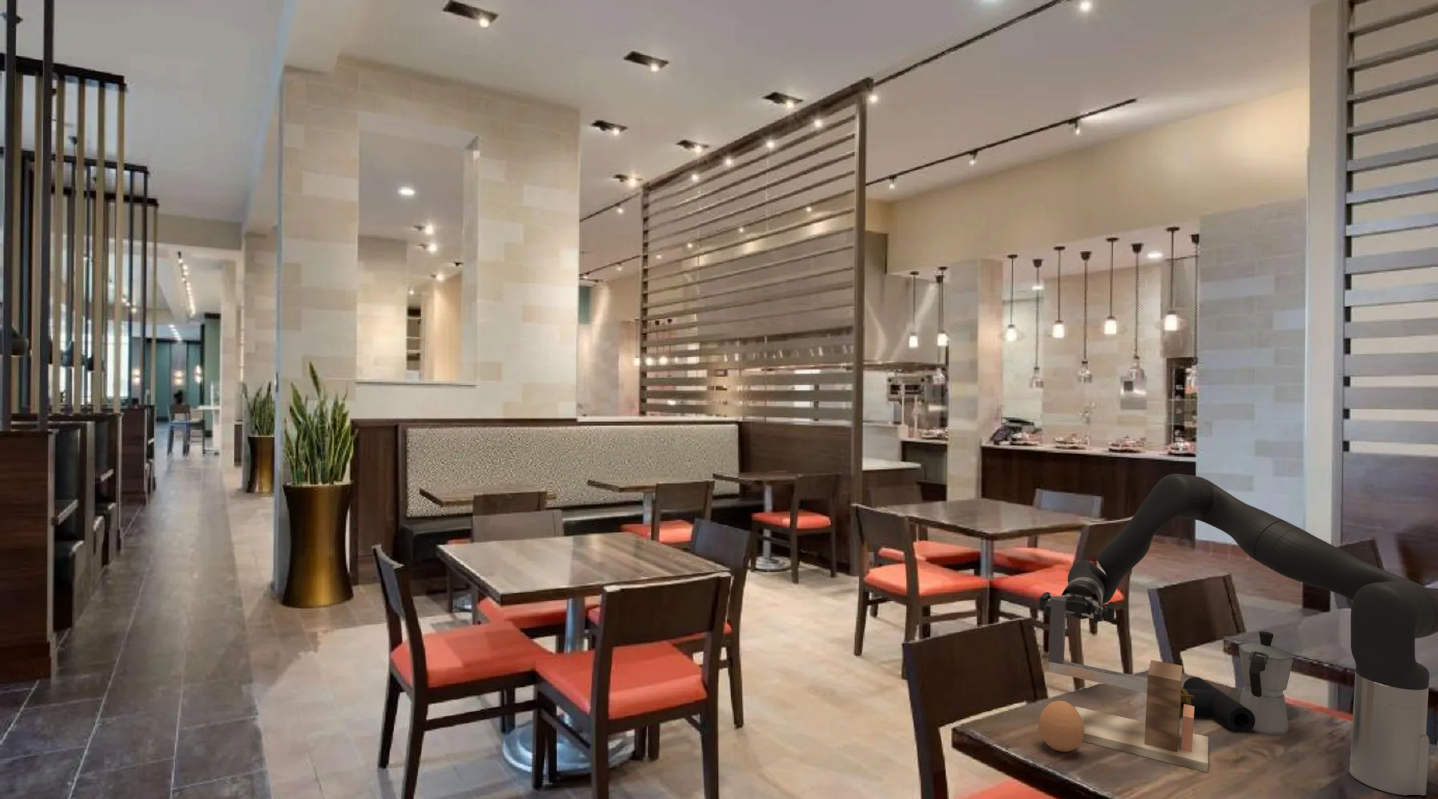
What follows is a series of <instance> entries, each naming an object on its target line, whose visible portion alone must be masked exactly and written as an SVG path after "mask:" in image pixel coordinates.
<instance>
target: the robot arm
mask: <svg viewBox="0 0 1438 799" xmlns="http://www.w3.org/2000/svg"><path fill="white" fill-rule="evenodd" d="M1139 506H1140V507H1139V508H1138V509H1137V511H1136V512H1135V514H1134V515H1133V516H1132V518H1131V519H1130V521H1128V522H1127V524H1126V525H1125V527H1124V528H1122V529H1121V531H1120V532H1119V533H1118V534H1117V535H1116V536H1115V537H1114V538H1113V539H1111V540H1110V542H1109V543H1108V544H1107V545H1105V546H1104V547H1103V548H1102V549H1101V550H1100V551H1099V553H1098V554H1097V556H1096V559H1097V563H1098V564H1099V566H1100V567H1098V566H1097V565H1095V563H1093V562H1092V561H1090V560H1087V559H1086V560H1085V559H1084V560H1083V559H1081V560H1079V561H1077V562H1076V563H1074V564H1073V565H1072V566H1071V567H1070V570H1069V571H1068V574H1067V583H1068V584H1067V585H1066V587H1065V588H1064V589H1063V591H1062V593H1061V595H1056V597H1062V598H1067V607H1066V614H1068V615H1069V616H1072V617H1073V618H1076V619H1080V620H1087V619H1093V624H1099V622H1103V621H1105V620H1104V619H1107V620H1106V621H1109V622H1114V621H1115V615H1116V614H1115V613H1116V612H1115V608H1116V606H1115V605H1116V602H1114V601H1111V600H1112V599H1113V597H1114V596H1115V593H1116V591H1117V590H1118V588H1119V587H1118V586H1119V585H1120V583H1121V582H1122V580H1123V578H1124V577H1125V576H1126V575H1127V574H1128V572H1130V571H1131V570H1132V569H1133V568H1134V567H1136V565H1137V564H1139V563H1140V562H1141V561H1142V560H1143V558H1145V556H1146V555H1147V553H1148V551H1149V550H1150V548H1151V545H1152V541H1153V538H1154V536H1155V535H1156V533H1157V532H1158V531H1159V530H1160V529H1161V528H1162V527H1163V526H1164V525H1166V524H1167V523H1169V522H1170V521H1172V520H1174V519H1176V518H1177V519H1187V520H1188V519H1189V520H1194V521H1199V522H1202V523H1204V524H1206V525H1207V524H1208V525H1209V526H1211V527H1214V528H1216V529H1217V530H1220V531H1222V532H1223V533H1225V534H1227V535H1228V536H1229V537H1231V538H1232V539H1233V541H1235V543H1236V544H1237V546H1239V547H1240V549H1241V550H1242V551H1243V552H1244V553H1245V554H1247V555H1248V556H1249V557H1250V558H1251V559H1253V560H1254V561H1256V562H1258V563H1260V564H1262V565H1263V566H1265V567H1267V568H1268V569H1270V570H1272V571H1274V572H1276V573H1278V574H1280V575H1282V576H1284V577H1286V578H1288V579H1292V580H1294V581H1296V582H1299V583H1303V584H1305V585H1309V586H1313V587H1315V588H1318V589H1319V588H1320V589H1321V590H1322V589H1323V590H1325V591H1329V592H1332V593H1335V594H1338V595H1340V596H1343V597H1344V598H1346V599H1349V600H1350V601H1352V602H1351V608H1350V650H1351V651H1350V652H1351V655H1352V657H1353V660H1354V662H1355V672H1354V673H1355V675H1354V690H1353V692H1354V693H1353V706H1352V708H1353V709H1352V710H1353V711H1352V727H1351V740H1350V741H1351V743H1350V758H1349V773H1350V775H1351V776H1352V777H1353V778H1354V779H1356V780H1357V781H1358V782H1360V783H1362V784H1364V785H1365V786H1369V787H1371V788H1374V789H1377V790H1380V791H1383V792H1386V793H1390V794H1395V795H1400V796H1407V795H1426V796H1427V785H1428V784H1427V782H1428V771H1429V770H1428V767H1429V766H1428V765H1429V752H1430V738H1429V736H1428V735H1427V719H1428V702H1429V686H1430V672H1429V669H1428V668H1427V667H1426V666H1424V665H1423V664H1422V663H1419V662H1417V660H1416V639H1422V638H1426V637H1429V636H1432V635H1434V634H1437V633H1438V596H1437V595H1436V594H1435V593H1434V592H1432V590H1430V589H1429V588H1427V587H1426V586H1424V585H1422V584H1420V583H1418V582H1415V581H1413V580H1411V579H1409V578H1406V577H1403V576H1401V575H1398V574H1395V573H1392V572H1390V571H1388V570H1385V569H1382V568H1379V567H1378V566H1375V565H1373V564H1370V563H1367V562H1366V561H1363V560H1362V559H1359V558H1357V557H1355V556H1354V555H1352V554H1350V553H1348V552H1346V551H1345V550H1343V549H1340V548H1338V547H1337V546H1335V545H1333V544H1331V543H1329V542H1327V541H1325V540H1323V539H1321V538H1319V537H1317V536H1315V535H1314V534H1311V533H1310V532H1308V531H1306V530H1305V529H1303V528H1301V527H1298V526H1297V525H1295V524H1293V523H1291V522H1288V521H1286V520H1284V519H1282V518H1280V517H1279V516H1278V517H1277V516H1275V515H1273V514H1272V513H1269V512H1266V511H1264V510H1262V509H1260V508H1257V507H1255V506H1253V505H1250V504H1248V503H1246V502H1244V501H1242V500H1240V499H1238V498H1237V497H1235V496H1234V495H1232V494H1231V493H1229V492H1228V491H1226V490H1224V489H1223V488H1221V487H1220V486H1218V485H1216V484H1215V483H1214V482H1212V481H1210V480H1208V479H1207V478H1204V477H1201V476H1198V475H1197V476H1196V475H1190V474H1182V473H1171V474H1168V475H1165V476H1164V477H1162V478H1161V479H1160V480H1159V481H1158V482H1157V483H1156V484H1155V486H1154V487H1153V488H1152V489H1151V491H1150V492H1149V493H1148V495H1147V496H1146V497H1145V499H1144V501H1143V502H1142V504H1141V505H1139ZM1100 568H1101V569H1100ZM1052 597H1053V596H1052V594H1051V592H1048V591H1045V592H1044V593H1042V594H1041V595H1040V596H1039V598H1038V610H1041V611H1044V613H1046V614H1047V616H1050V615H1051V599H1052Z"/></svg>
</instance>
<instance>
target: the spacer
mask: <svg viewBox="0 0 1438 799" xmlns="http://www.w3.org/2000/svg"><path fill="white" fill-rule="evenodd" d="M1194 718H1195V716H1194V706H1190V705H1186V704H1184V709H1183V716H1182V724H1181V725H1182V727H1181V731H1182V742H1181V750H1183V751H1188V752H1192V742H1193V733H1194V721H1195V720H1194Z"/></svg>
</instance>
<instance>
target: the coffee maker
mask: <svg viewBox="0 0 1438 799" xmlns="http://www.w3.org/2000/svg"><path fill="white" fill-rule="evenodd" d="M1258 634H1259V641H1260V642H1259V643H1256V642H1255V643H1252V642H1250V643H1243V644H1238V652H1239V662H1240V671H1241V672H1240V673H1241V674H1240V675H1241V679H1242V680H1243V682H1244V685H1243V687H1242V690H1241V693H1240V697H1239V702H1238V703H1240V704H1241V705H1243V706H1244V707H1246V708H1247V709H1249V710H1250V711H1251V712H1252V713H1253V714H1254V716H1255V725H1254V727H1253V729H1252V730H1251V731H1253V732H1257V733H1261V734H1264V735H1271V736H1286V735H1287V733H1288V732H1289V731H1290V730H1289V729H1290V728H1289V721H1288V720H1289V719H1288V715H1287V714H1288V712H1287V705H1286V698H1285V697H1286V696H1285V694H1284V691H1286V690H1287V688H1288V683H1289V680H1290V674H1291V671H1292V667H1293V666H1292V665H1293V662H1294V657H1293V655H1292V654H1291V653H1290V652H1289V651H1287V650H1285V649H1282V648H1278V647H1276V646H1274V645H1272V642H1273V638H1274V633H1272V632H1269V631H1264V630H1262V631H1258Z"/></svg>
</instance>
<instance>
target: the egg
mask: <svg viewBox="0 0 1438 799" xmlns="http://www.w3.org/2000/svg"><path fill="white" fill-rule="evenodd" d="M1038 730H1039V733H1040V736H1041V738H1042V740H1043V741H1044V742H1045V743H1046V745H1047V746H1049V747H1050V748H1051V749H1053V750H1055V751H1058V752H1064V753H1067V752H1071V751H1073V750H1075V749H1077V748H1078V747H1079V746H1080V745H1081V744H1082V742H1083V741H1082V740H1083V737H1084V725H1083V721H1082V719H1081V716H1080V714H1079V713H1078V711H1077V710H1076V709H1075V707H1074V706H1073V705H1072V704H1070V703H1069V702H1067V701H1065V700H1054V701H1052V702H1050V703H1049V704H1047V705H1046V706H1045V707H1044V709H1043V710H1042V712H1041V713H1040V715H1039V718H1038Z"/></svg>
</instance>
